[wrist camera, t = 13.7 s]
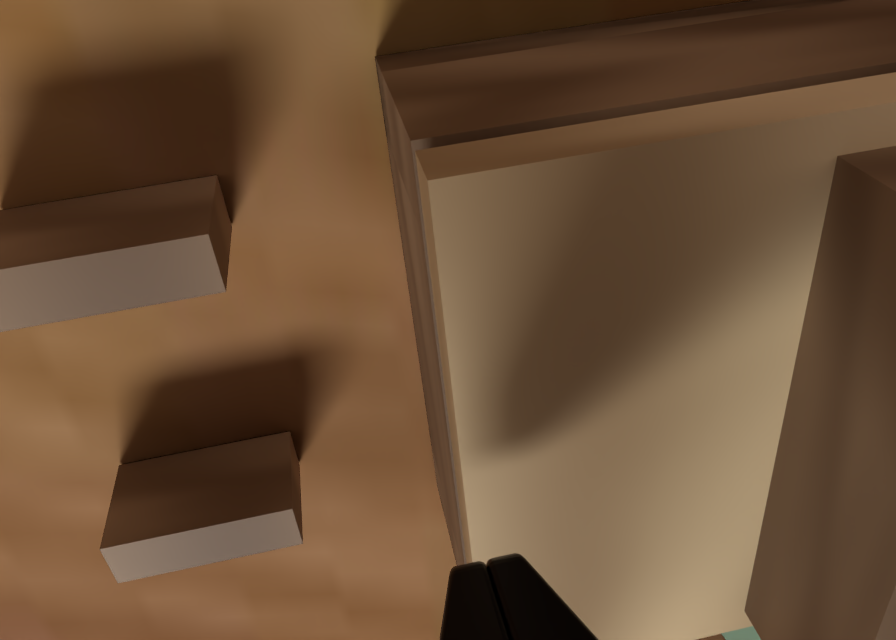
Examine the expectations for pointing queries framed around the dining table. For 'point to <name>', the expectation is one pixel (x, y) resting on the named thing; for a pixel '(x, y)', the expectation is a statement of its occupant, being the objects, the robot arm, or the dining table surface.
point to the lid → (680, 360)
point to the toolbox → (407, 129)
